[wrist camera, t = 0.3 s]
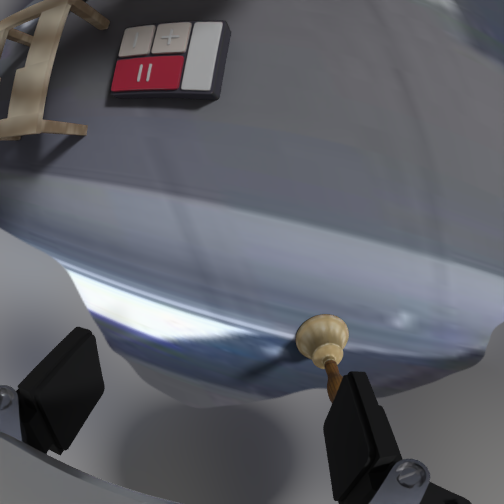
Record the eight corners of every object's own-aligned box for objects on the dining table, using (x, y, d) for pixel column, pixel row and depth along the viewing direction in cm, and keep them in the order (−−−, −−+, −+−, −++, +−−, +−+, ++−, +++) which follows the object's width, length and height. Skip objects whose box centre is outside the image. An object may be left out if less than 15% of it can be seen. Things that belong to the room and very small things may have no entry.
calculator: (122, 25, 29) (226, 17, 28) (135, 35, 33) (232, 30, 32) (106, 94, 32) (211, 93, 31) (121, 100, 36) (219, 100, 35)
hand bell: (311, 306, 43) (329, 376, 27) (358, 324, 43) (391, 392, 28) (286, 349, 45) (291, 425, 30) (331, 364, 45) (350, 437, 30)
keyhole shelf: (34, 40, 32) (-7, 25, 20) (111, 19, 31) (72, -11, 20) (14, 141, 37) (-34, 143, 26) (87, 136, 37) (35, 133, 26)
